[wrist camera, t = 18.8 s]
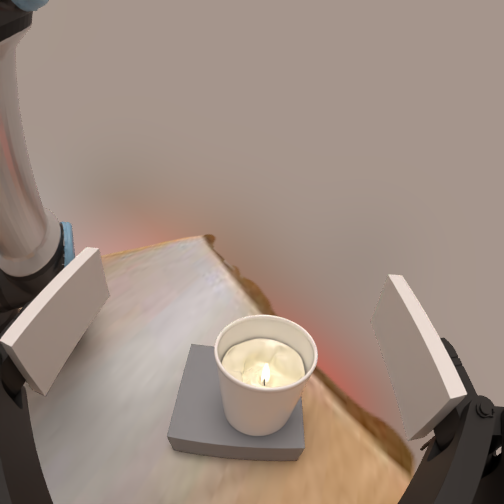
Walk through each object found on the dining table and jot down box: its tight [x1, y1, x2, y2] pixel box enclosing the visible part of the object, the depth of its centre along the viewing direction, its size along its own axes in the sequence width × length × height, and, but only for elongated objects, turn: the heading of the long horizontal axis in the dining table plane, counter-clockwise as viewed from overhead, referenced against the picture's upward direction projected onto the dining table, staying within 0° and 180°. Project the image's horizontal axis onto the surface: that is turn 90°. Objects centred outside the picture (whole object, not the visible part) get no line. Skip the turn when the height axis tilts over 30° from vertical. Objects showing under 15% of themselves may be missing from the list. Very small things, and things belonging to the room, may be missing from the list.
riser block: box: [167, 344, 305, 461], centre depth 34 cm, size 16×16×5 cm
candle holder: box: [214, 315, 318, 436], centre depth 28 cm, size 10×10×12 cm
